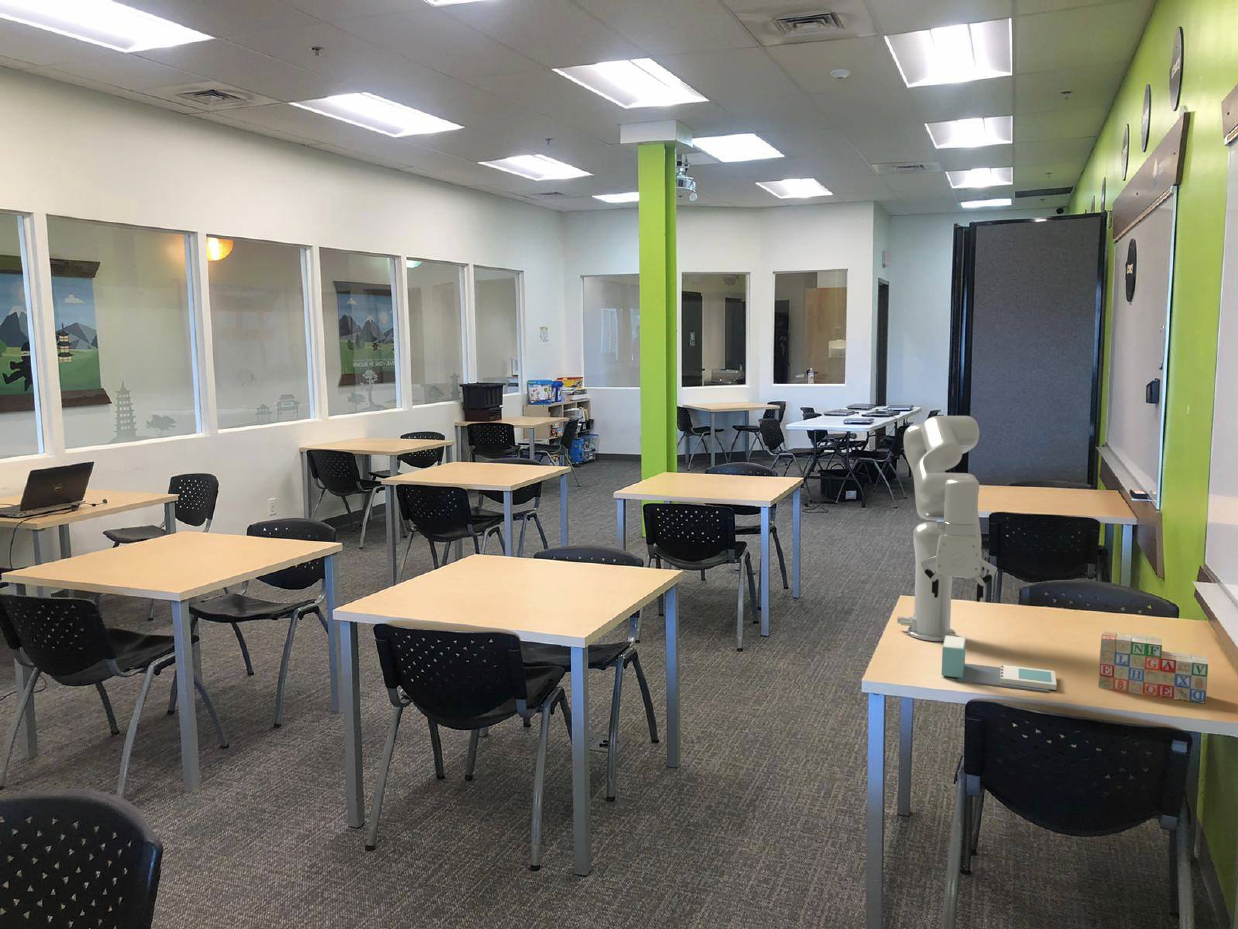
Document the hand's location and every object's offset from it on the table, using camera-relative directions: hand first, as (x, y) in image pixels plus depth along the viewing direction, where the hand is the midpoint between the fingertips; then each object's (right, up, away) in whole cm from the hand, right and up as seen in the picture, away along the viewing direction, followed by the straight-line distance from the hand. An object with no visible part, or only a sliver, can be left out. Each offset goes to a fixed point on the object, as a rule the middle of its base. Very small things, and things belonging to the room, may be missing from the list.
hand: (957, 598), depth 226 cm
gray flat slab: (+11, -19, -3) cm, 22 cm away
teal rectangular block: (0, -18, +2) cm, 18 cm away
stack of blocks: (+40, -20, -12) cm, 47 cm away
